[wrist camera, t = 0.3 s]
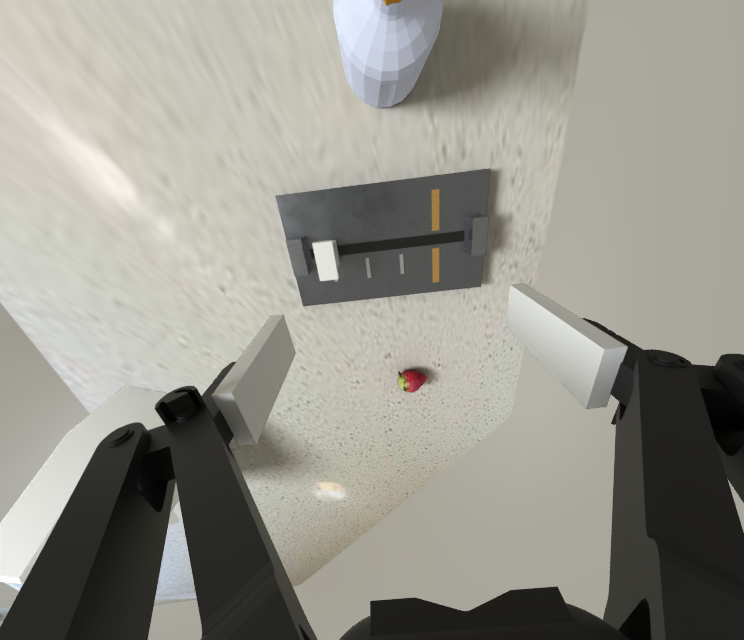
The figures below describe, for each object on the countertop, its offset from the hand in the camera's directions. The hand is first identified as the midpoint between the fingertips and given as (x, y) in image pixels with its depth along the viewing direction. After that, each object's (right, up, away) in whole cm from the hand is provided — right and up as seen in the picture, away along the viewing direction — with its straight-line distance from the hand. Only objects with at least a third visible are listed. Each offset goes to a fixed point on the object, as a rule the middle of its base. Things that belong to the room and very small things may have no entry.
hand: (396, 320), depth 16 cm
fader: (-7, +10, +22) cm, 25 cm away
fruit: (+6, -10, +36) cm, 38 cm away
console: (+1, +12, +24) cm, 27 cm away
